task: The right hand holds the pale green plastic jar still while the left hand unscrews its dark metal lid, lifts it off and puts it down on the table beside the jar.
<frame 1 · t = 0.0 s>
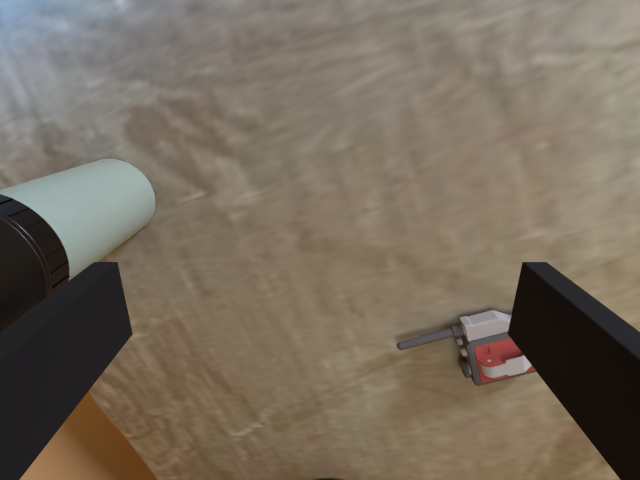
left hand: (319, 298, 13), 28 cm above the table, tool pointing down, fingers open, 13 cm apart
walkie-talkie: (480, 339, 47), on the table
jar: (116, 197, 40), on the table
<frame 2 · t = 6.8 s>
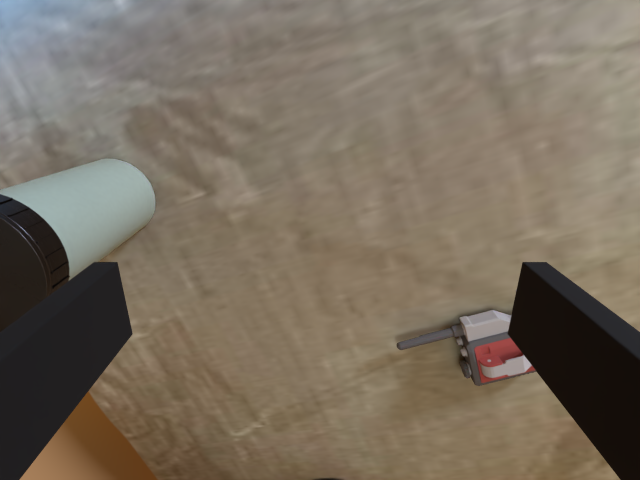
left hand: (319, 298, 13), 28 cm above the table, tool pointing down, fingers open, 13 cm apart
walkie-talkie: (480, 339, 47), on the table
jar: (116, 197, 40), on the table
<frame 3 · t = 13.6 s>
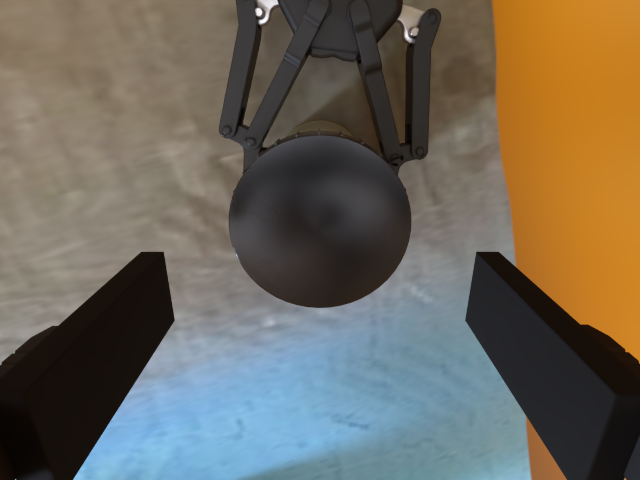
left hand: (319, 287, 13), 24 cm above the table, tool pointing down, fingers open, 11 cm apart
right hand: (313, 234, 32), fingers closed on jar, 8 cm apart
lid: (320, 226, 19), point 18 cm above the table, screwed on, not yet turned
jar: (319, 165, 36), on the table, touching right hand
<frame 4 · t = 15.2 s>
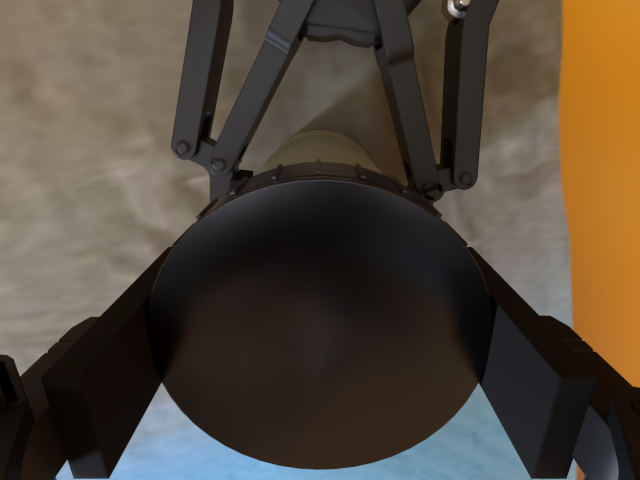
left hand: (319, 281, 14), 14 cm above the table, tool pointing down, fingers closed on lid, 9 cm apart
lid: (320, 340, 10), point 18 cm above the table, screwed on, not yet turned, touching left hand
jar: (320, 188, 27), on the table, touching right hand
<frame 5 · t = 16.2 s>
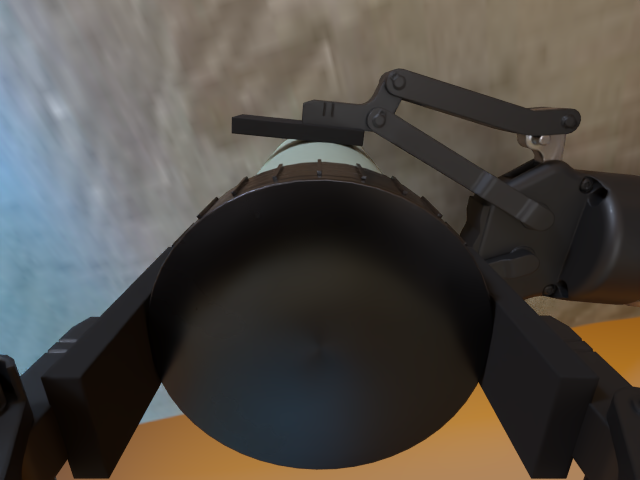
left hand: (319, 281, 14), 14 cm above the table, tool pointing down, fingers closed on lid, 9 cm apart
right hand: (236, 204, 21), fingers closed on jar, 8 cm apart
lid: (320, 340, 10), point 18 cm above the table, turned 89° so far, risen 0.3 cm, still on its thread, touching left hand
jar: (319, 187, 27), on the table, touching right hand
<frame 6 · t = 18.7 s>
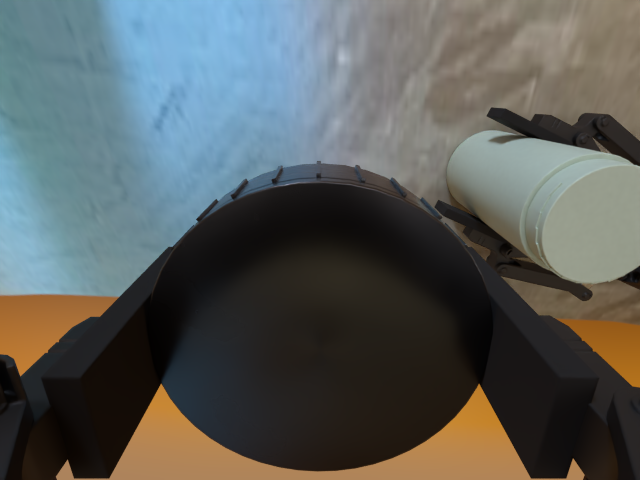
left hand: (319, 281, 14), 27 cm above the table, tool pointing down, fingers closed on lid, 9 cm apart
lid: (320, 342, 10), point 30 cm above the table, off its thread, touching left hand
jar: (485, 171, 39), on the table, touching right hand
when the left hand's fingers open (0 cm above the table, at t = 23.0 s): lid drops 2 cm, point 2 cm above the table.
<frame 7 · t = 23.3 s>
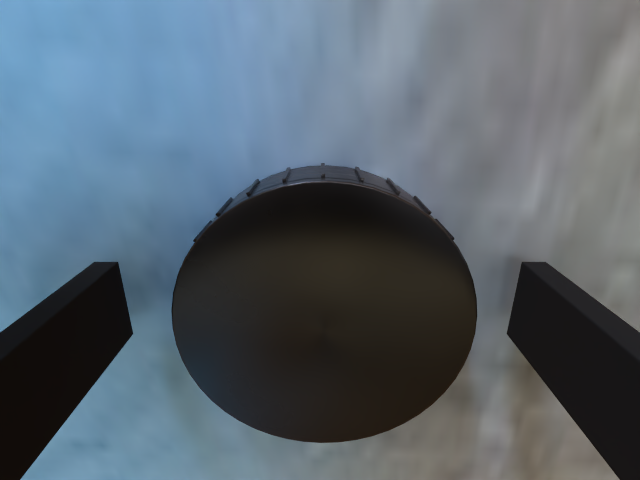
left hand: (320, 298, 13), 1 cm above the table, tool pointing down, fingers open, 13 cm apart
lid: (324, 324, 12), point 2 cm above the table, off its thread
when the right hand's fingers open (6 cm above the table, at t = 23.9 s): jar stays where it is, on the table.
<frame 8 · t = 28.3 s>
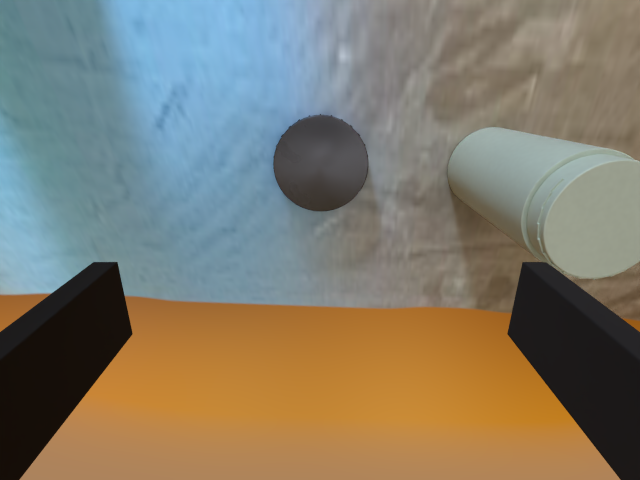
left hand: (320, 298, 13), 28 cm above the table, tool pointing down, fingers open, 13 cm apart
lid: (320, 165, 37), point 2 cm above the table, off its thread
jar: (486, 168, 39), on the table
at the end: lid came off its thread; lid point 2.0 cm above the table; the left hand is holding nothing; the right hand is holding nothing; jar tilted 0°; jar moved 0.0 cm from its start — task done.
